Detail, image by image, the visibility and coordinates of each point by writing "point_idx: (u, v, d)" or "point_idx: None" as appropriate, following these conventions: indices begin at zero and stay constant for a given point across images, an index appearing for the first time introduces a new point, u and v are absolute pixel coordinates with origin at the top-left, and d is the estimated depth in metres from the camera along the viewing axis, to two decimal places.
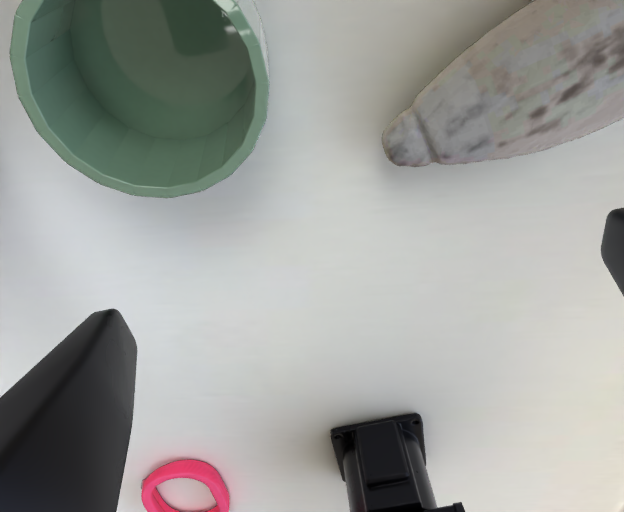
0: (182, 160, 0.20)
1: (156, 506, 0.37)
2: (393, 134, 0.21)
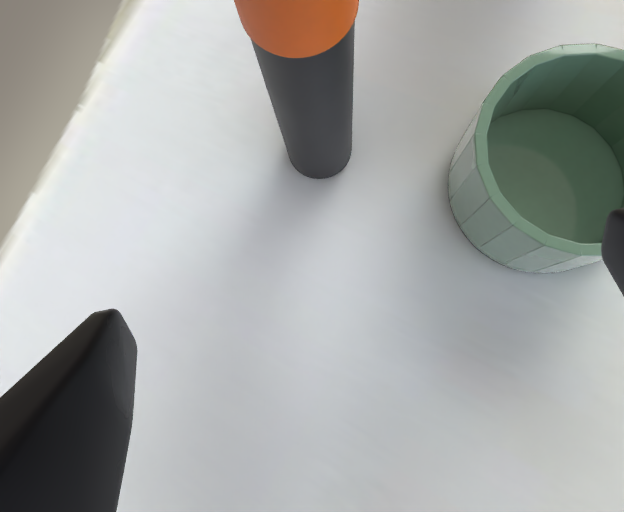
0: None
1: None
2: None
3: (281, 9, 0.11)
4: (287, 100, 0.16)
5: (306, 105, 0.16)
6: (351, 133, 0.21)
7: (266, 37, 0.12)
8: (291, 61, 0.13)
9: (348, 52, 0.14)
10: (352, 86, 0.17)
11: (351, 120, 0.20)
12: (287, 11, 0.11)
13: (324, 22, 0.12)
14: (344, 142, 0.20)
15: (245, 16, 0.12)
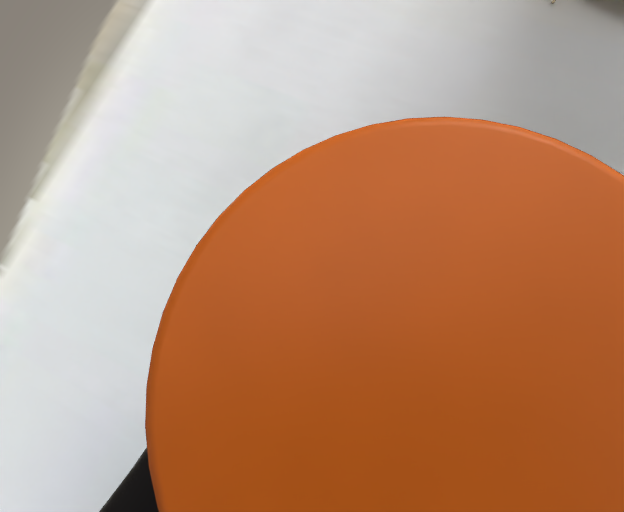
0: None
1: None
2: None
3: None
4: None
5: None
6: None
7: None
8: None
9: None
10: None
11: None
12: None
13: None
14: None
15: None
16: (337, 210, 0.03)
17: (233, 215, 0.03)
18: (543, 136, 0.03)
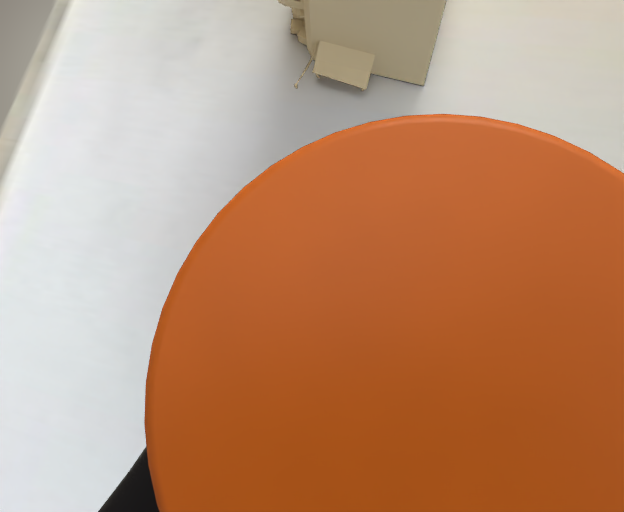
0: None
1: None
2: None
3: None
4: None
5: None
6: None
7: None
8: None
9: None
10: None
11: None
12: None
13: None
14: None
15: None
16: (336, 207, 0.03)
17: (232, 212, 0.03)
18: (542, 133, 0.03)
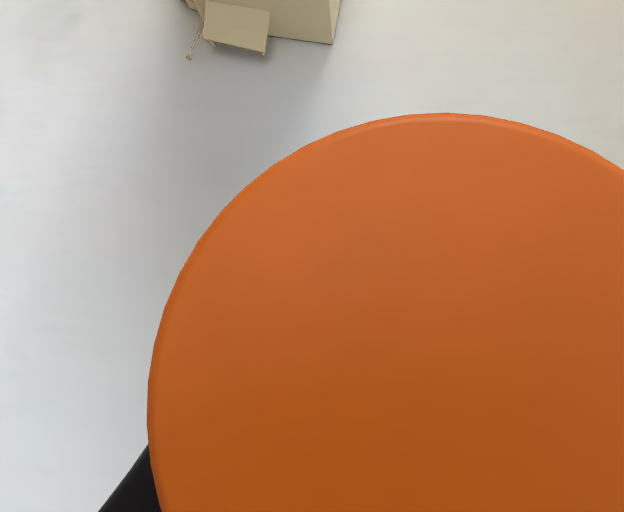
0: None
1: None
2: None
3: None
4: None
5: None
6: None
7: None
8: None
9: None
10: None
11: None
12: None
13: None
14: None
15: None
16: (339, 206, 0.03)
17: (234, 211, 0.03)
18: (545, 132, 0.03)
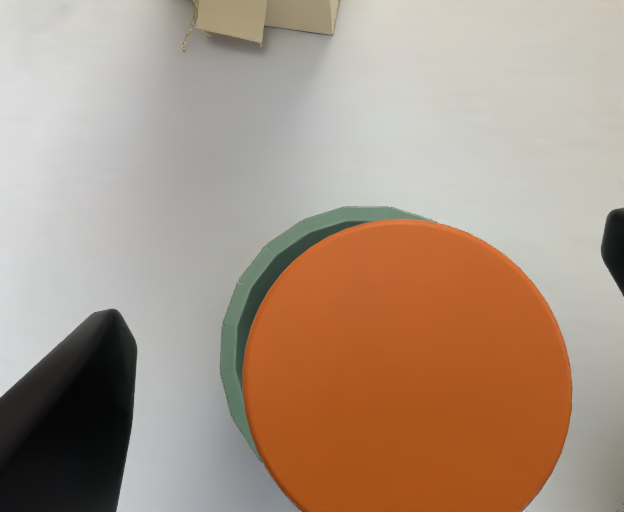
0: None
1: None
2: None
3: None
4: None
5: None
6: None
7: None
8: None
9: None
10: None
11: None
12: None
13: None
14: None
15: None
16: (347, 272, 0.05)
17: (289, 275, 0.05)
18: (459, 232, 0.05)
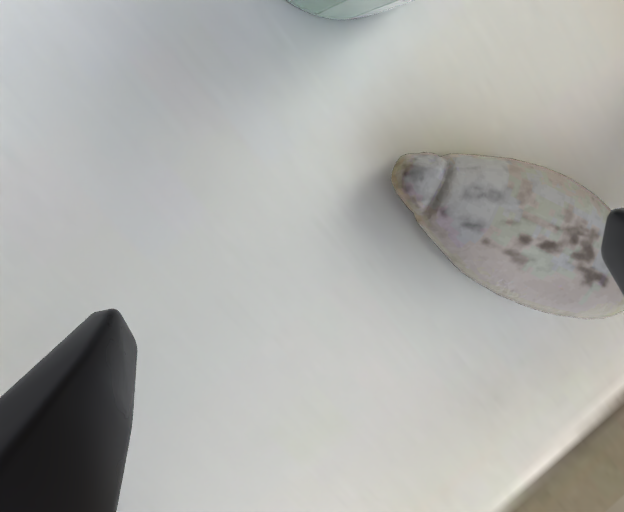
0: None
1: None
2: (422, 157, 0.20)
3: None
4: None
5: None
6: None
7: None
8: None
9: None
10: None
11: None
12: None
13: None
14: None
15: None
16: None
17: None
18: None
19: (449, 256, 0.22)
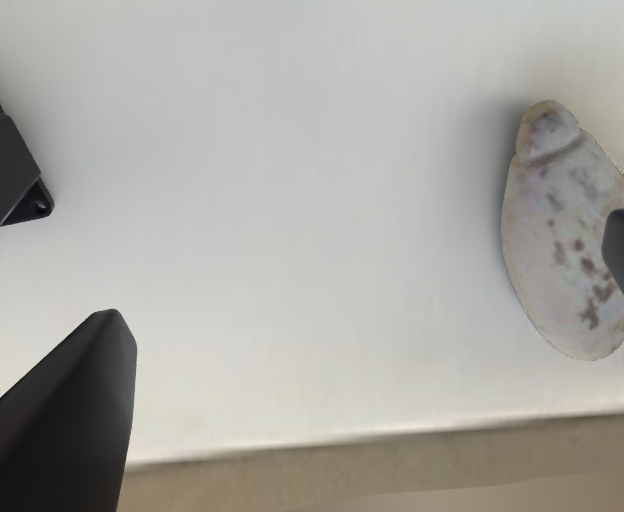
0: None
1: None
2: (567, 114, 0.20)
3: None
4: None
5: None
6: None
7: None
8: None
9: None
10: None
11: None
12: None
13: None
14: None
15: None
16: None
17: None
18: None
19: (508, 214, 0.22)
